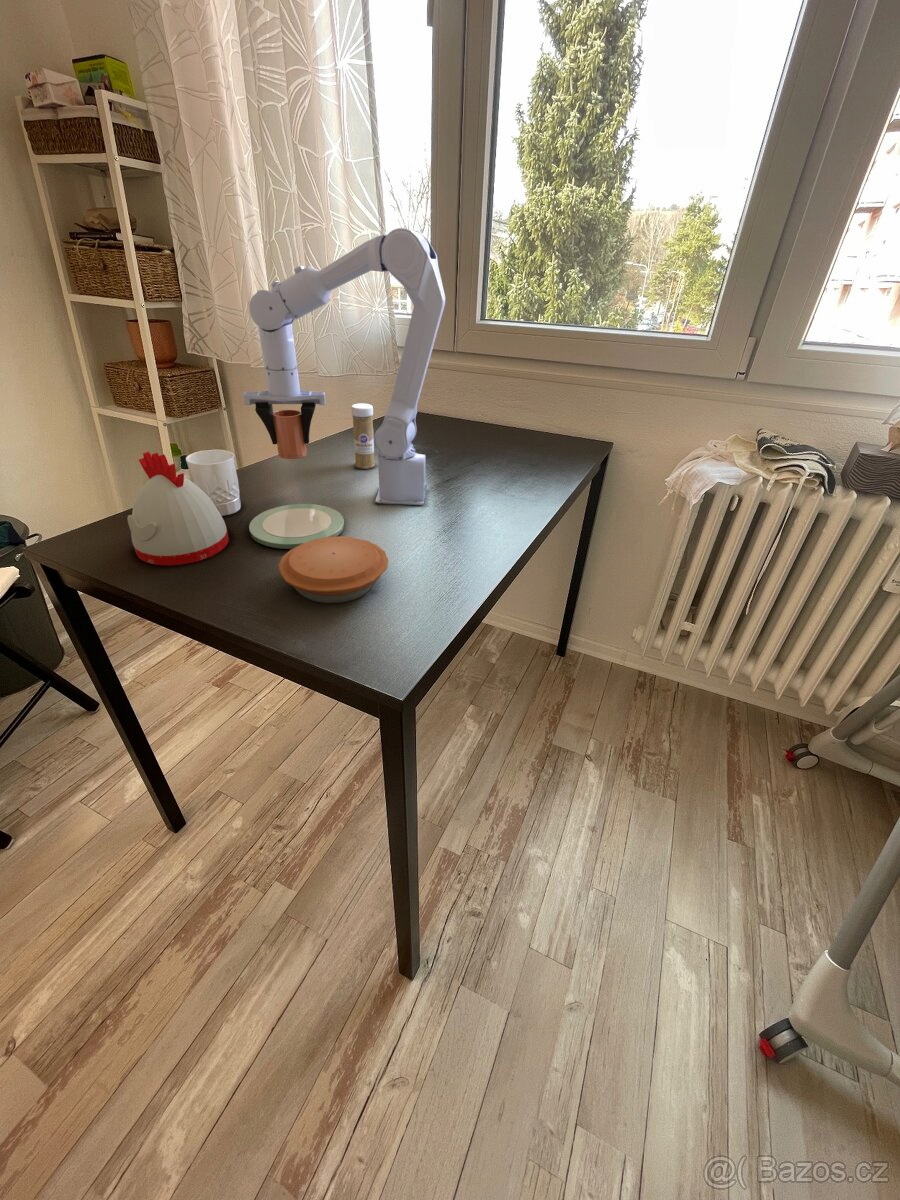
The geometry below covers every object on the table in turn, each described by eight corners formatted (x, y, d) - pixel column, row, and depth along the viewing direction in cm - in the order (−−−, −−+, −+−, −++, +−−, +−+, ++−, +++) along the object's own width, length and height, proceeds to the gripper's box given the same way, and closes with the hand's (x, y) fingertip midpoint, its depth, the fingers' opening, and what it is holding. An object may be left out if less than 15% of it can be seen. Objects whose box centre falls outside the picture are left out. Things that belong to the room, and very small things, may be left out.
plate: (351, 511, 96) (350, 505, 96) (334, 552, 83) (334, 545, 82) (266, 508, 96) (265, 501, 95) (236, 549, 83) (234, 541, 82)
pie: (271, 613, 69) (264, 582, 66) (294, 556, 82) (289, 528, 79) (385, 613, 70) (384, 582, 67) (390, 557, 83) (389, 529, 80)
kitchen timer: (188, 519, 91) (164, 434, 83) (246, 536, 87) (228, 449, 78) (116, 551, 81) (81, 459, 72) (178, 573, 76) (149, 477, 68)
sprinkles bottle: (358, 470, 115) (354, 408, 107) (353, 463, 118) (348, 403, 110) (377, 468, 116) (375, 407, 109) (372, 461, 120) (369, 402, 112)
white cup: (229, 520, 92) (217, 466, 86) (190, 515, 93) (175, 461, 87) (252, 503, 98) (242, 451, 92) (215, 498, 99) (203, 447, 93)
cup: (309, 450, 103) (304, 410, 99) (303, 459, 99) (297, 417, 94) (283, 449, 103) (277, 408, 99) (275, 458, 99) (268, 416, 94)
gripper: (323, 363, 96) (329, 436, 104) (242, 363, 94) (255, 436, 102) (321, 371, 91) (328, 446, 98) (235, 370, 89) (250, 448, 96)
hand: (291, 442), depth 100 cm, fingers closed on cup, 5 cm apart
